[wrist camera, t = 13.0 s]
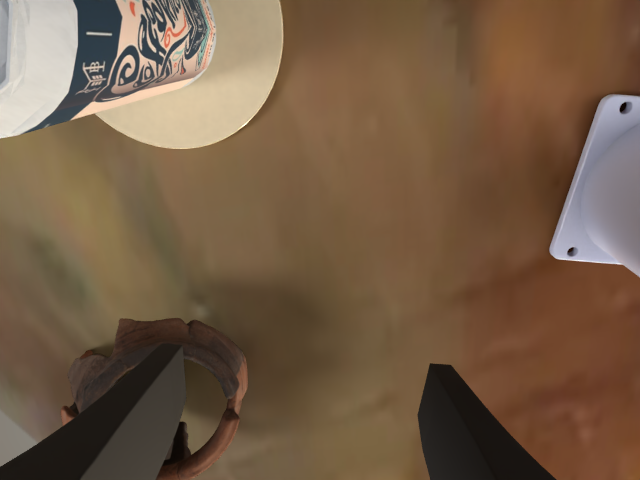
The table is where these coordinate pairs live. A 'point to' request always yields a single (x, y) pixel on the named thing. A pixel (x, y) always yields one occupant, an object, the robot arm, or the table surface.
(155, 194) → the table surface
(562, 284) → the table surface
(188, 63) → the beer can
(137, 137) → the coaster
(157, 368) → the robot arm
